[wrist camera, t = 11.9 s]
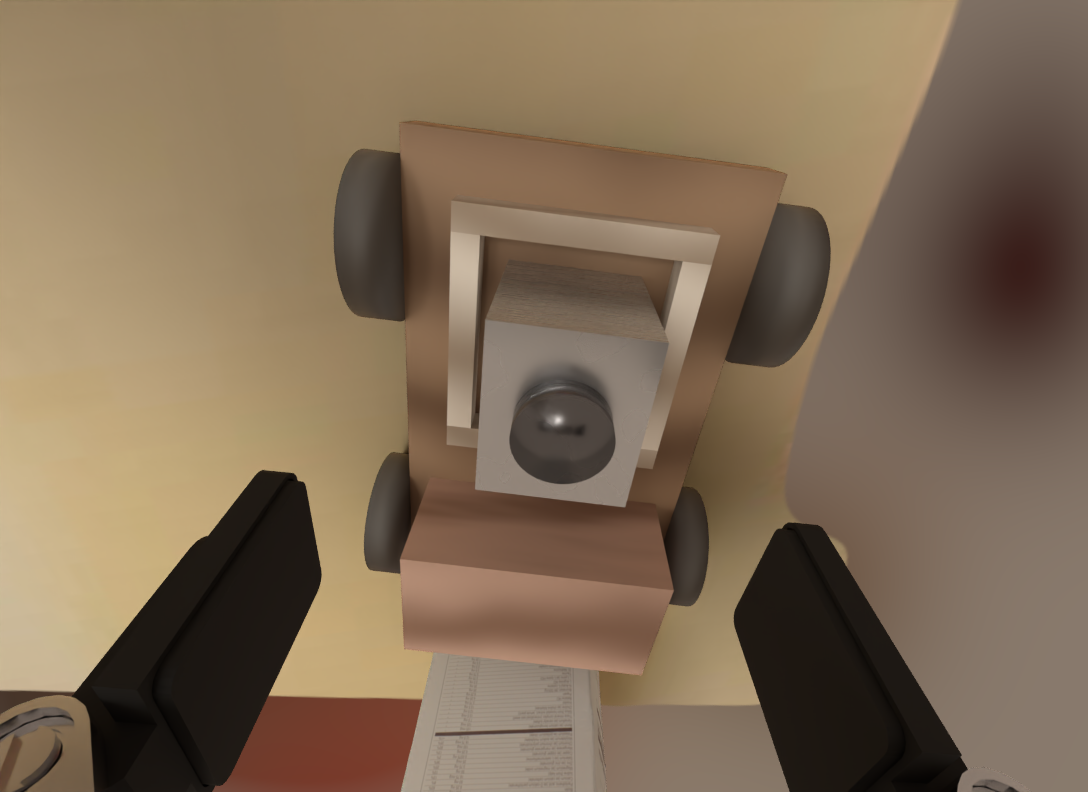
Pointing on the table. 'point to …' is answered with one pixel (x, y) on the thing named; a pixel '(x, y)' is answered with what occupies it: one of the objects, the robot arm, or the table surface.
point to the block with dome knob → (567, 383)
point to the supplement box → (507, 728)
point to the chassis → (457, 357)
